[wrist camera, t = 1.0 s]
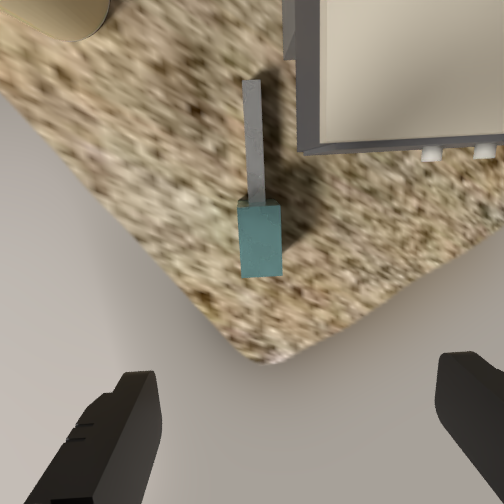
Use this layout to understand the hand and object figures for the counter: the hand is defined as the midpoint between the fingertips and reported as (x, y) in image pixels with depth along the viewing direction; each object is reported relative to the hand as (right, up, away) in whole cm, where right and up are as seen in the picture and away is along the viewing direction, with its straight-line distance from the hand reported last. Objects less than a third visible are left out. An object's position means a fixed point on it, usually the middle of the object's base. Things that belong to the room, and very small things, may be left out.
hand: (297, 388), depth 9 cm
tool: (-1, +11, +22) cm, 24 cm away
